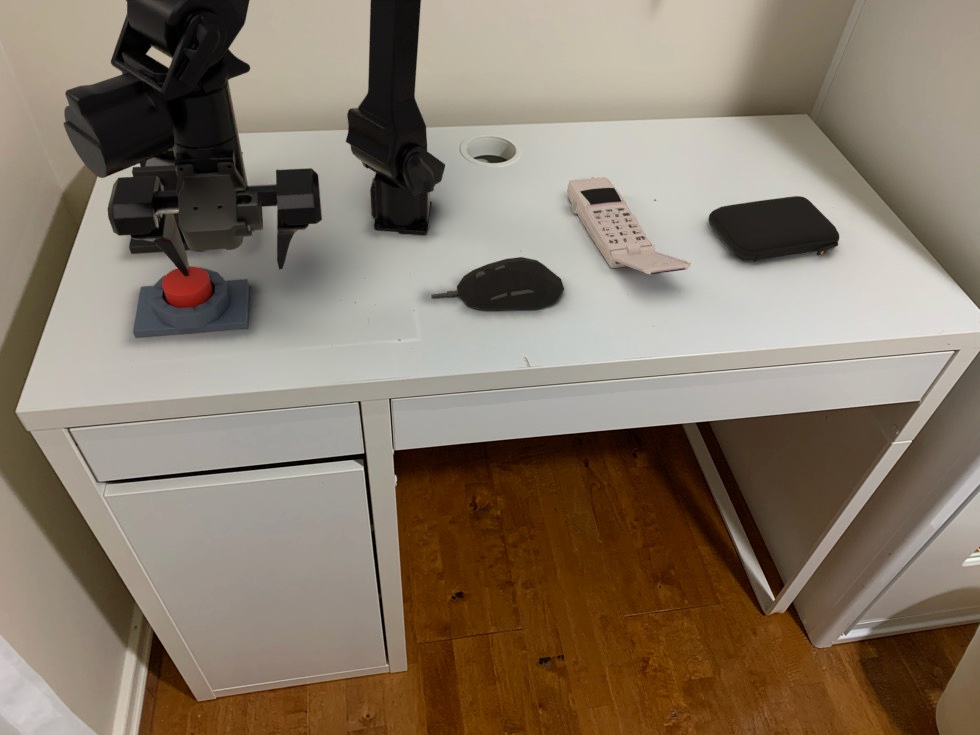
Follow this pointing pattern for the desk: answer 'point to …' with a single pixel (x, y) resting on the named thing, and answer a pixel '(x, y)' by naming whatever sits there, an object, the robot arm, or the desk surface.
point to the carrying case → (774, 228)
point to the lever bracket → (168, 182)
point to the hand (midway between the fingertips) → (234, 270)
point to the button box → (193, 310)
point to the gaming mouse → (509, 286)
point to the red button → (187, 287)
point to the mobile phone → (617, 228)
